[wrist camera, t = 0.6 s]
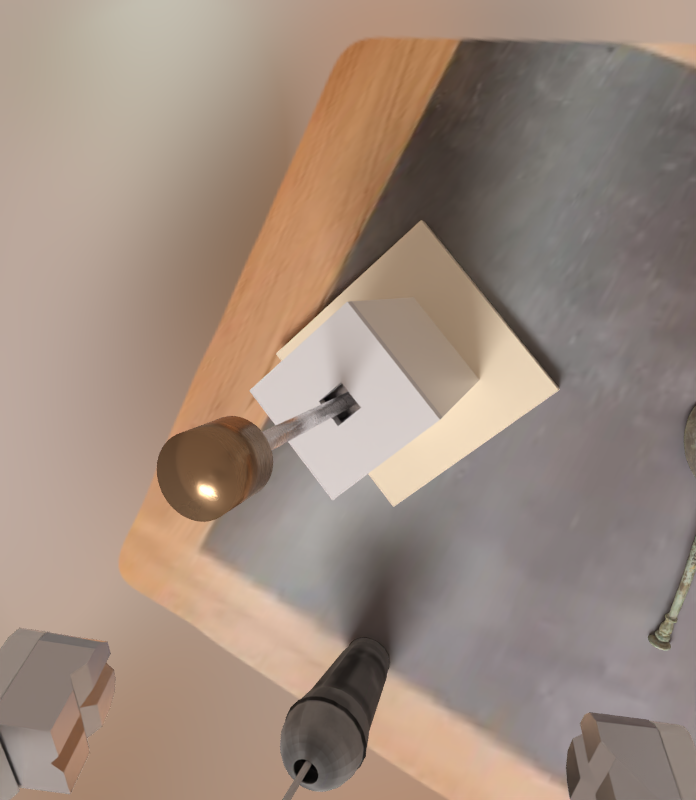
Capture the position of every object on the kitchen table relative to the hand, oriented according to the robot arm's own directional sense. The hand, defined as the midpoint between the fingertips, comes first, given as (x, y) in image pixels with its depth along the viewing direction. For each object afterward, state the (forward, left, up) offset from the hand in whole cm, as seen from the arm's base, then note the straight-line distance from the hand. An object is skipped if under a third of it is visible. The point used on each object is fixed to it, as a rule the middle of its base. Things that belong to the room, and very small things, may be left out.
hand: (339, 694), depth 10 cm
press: (+8, -6, -44) cm, 45 cm away
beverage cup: (+30, +14, -44) cm, 55 cm away
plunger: (+8, -6, -29) cm, 30 cm away
